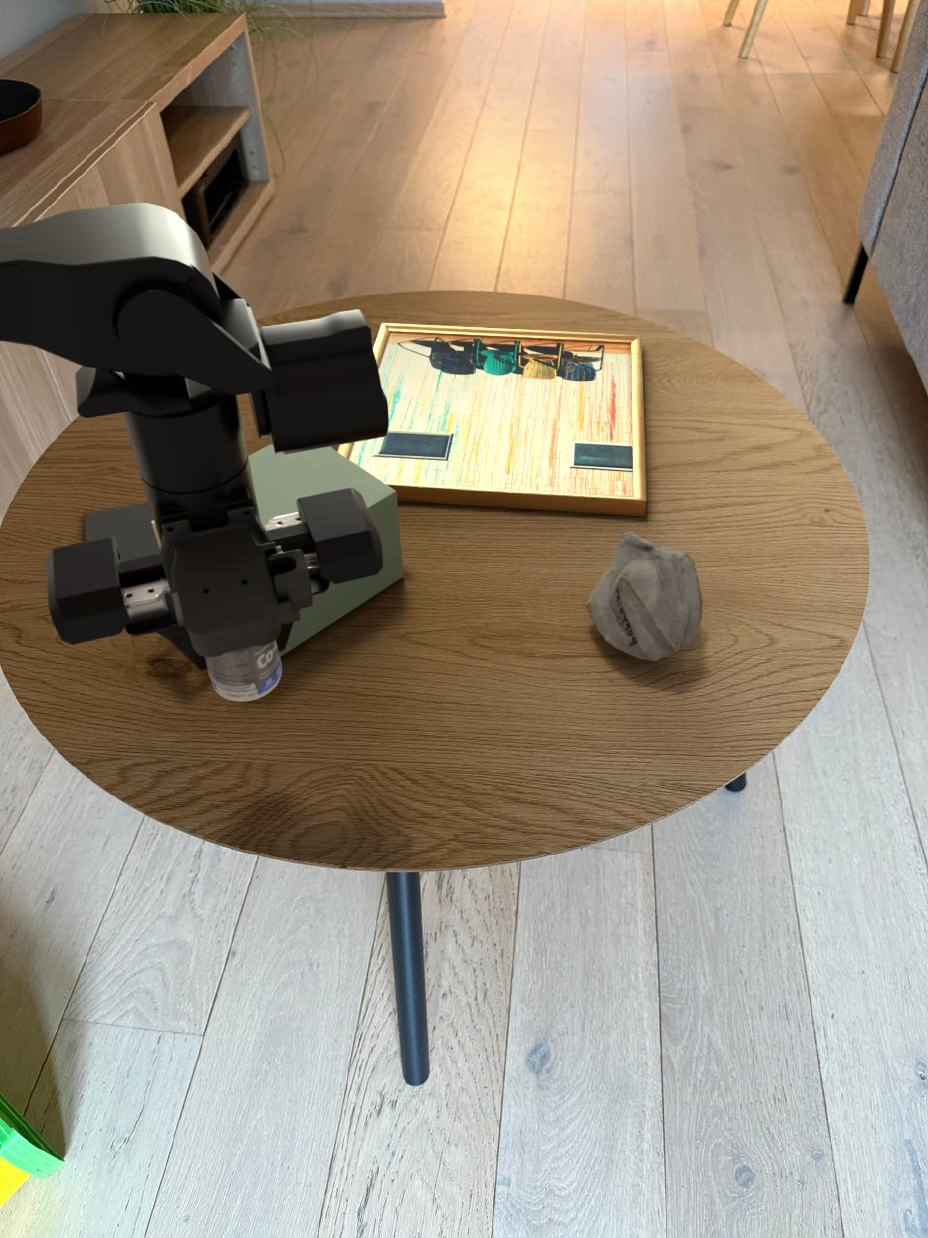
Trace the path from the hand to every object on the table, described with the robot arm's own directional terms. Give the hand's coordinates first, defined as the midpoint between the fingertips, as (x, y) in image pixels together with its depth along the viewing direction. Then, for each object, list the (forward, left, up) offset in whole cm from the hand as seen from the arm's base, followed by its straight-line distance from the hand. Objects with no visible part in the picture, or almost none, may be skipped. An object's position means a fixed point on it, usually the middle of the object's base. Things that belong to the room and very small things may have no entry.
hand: (241, 656), depth 62 cm
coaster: (-8, +28, -12) cm, 32 cm away
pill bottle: (0, 0, -2) cm, 2 cm away
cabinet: (+5, +18, -12) cm, 22 cm away
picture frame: (+30, +37, -12) cm, 49 cm away
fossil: (+32, +4, -12) cm, 34 cm away
